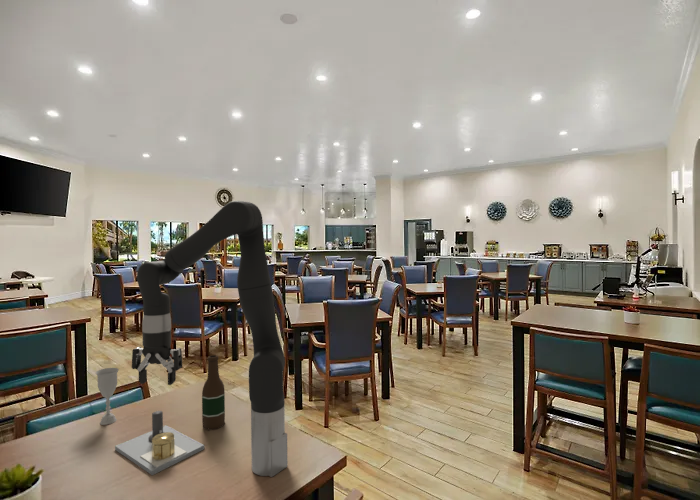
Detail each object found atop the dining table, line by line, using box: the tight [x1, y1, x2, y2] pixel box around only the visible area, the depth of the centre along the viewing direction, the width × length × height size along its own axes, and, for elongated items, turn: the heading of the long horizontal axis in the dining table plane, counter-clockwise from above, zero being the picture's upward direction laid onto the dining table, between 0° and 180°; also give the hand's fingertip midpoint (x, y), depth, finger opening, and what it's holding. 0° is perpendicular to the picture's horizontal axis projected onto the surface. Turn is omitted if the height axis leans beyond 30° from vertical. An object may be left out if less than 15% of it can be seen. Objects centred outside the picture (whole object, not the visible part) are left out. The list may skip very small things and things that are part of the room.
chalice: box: [95, 367, 119, 426], centre depth 134 cm, size 7×7×18 cm
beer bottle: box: [201, 354, 226, 431], centre depth 131 cm, size 8×8×24 cm
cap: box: [152, 432, 175, 460], centre depth 110 cm, size 7×6×5 cm
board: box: [114, 410, 205, 476], centre depth 116 cm, size 22×16×9 cm
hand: (157, 383), depth 112 cm, fingers open, 8 cm apart
